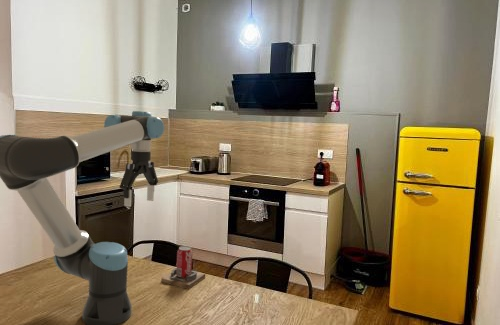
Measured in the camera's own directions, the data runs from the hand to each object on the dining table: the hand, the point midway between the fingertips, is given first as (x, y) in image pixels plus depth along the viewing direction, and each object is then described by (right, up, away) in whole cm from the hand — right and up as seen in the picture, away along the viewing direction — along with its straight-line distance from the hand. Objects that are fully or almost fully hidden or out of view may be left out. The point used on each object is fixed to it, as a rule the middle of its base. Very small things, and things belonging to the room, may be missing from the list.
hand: (139, 203), depth 148 cm
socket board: (+17, -32, +6) cm, 37 cm away
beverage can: (+17, -31, +5) cm, 36 cm away
